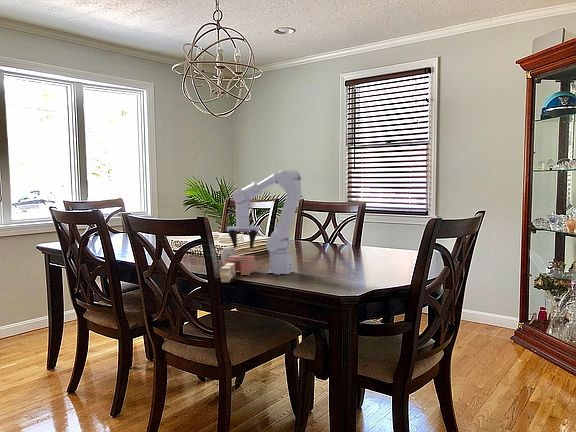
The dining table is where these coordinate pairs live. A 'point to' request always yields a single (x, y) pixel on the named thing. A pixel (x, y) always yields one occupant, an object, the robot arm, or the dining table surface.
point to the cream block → (227, 272)
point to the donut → (227, 253)
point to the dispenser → (242, 263)
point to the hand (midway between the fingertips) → (243, 247)
